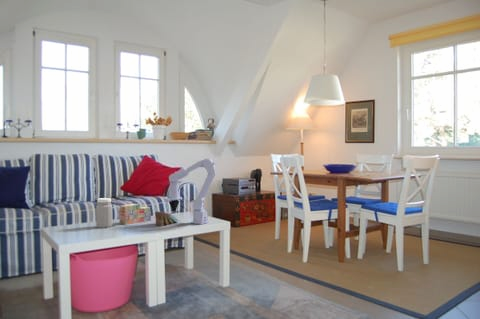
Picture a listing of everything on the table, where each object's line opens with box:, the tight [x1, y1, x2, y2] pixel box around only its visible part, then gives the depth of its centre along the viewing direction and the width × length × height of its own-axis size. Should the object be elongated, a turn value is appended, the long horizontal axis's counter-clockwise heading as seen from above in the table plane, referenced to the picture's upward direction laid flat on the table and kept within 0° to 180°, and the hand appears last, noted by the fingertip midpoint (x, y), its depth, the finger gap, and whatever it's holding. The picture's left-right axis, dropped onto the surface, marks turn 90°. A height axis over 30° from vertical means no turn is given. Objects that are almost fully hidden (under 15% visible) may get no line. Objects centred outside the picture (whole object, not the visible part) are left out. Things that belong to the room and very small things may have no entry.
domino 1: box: [154, 211, 165, 227], centre depth 251 cm, size 2×5×9 cm, turn 58°
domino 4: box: [168, 213, 179, 224], centre depth 260 cm, size 2×5×9 cm
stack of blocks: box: [118, 203, 152, 226], centre depth 264 cm, size 21×6×12 cm, turn 143°
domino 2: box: [162, 211, 169, 226], centre depth 253 cm, size 2×5×9 cm, turn 58°
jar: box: [95, 197, 114, 229], centre depth 247 cm, size 10×10×18 cm
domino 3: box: [165, 212, 174, 225], centre depth 256 cm, size 2×5×9 cm
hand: (174, 211), depth 262 cm, fingers closed
